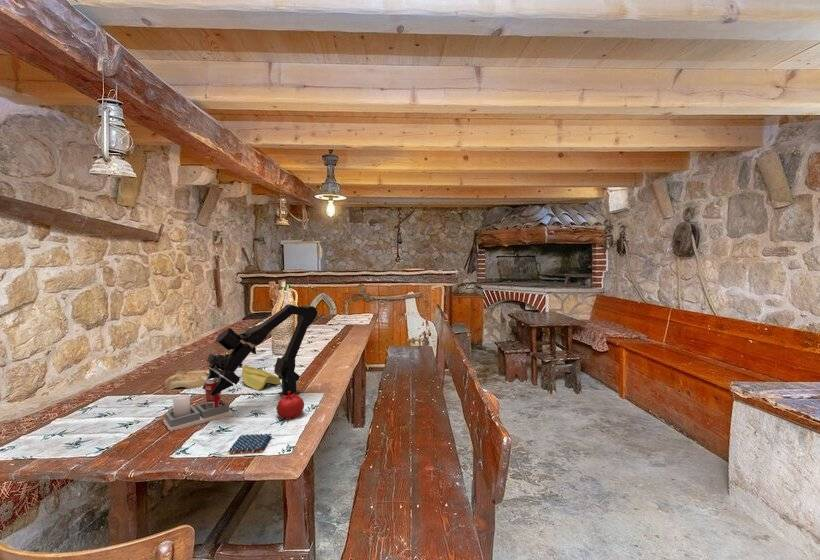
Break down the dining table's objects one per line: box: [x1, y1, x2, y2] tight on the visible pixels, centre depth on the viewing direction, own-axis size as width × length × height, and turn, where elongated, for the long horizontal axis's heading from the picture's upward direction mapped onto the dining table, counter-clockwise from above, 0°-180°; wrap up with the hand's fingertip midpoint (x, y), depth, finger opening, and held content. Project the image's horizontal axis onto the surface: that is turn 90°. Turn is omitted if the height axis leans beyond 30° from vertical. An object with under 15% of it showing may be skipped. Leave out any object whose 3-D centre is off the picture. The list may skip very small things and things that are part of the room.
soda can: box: [204, 378, 223, 410], centre depth 148 cm, size 5×5×12 cm
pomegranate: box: [275, 391, 305, 420], centre depth 147 cm, size 10×10×9 cm
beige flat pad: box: [163, 368, 209, 390], centre depth 187 cm, size 24×24×5 cm
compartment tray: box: [163, 394, 232, 432], centre depth 144 cm, size 20×10×9 cm, turn 133°
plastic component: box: [241, 365, 282, 391], centre depth 184 cm, size 20×7×10 cm
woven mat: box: [228, 433, 273, 455], centre depth 124 cm, size 10×11×2 cm
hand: (207, 392), depth 147 cm, fingers open, 9 cm apart
